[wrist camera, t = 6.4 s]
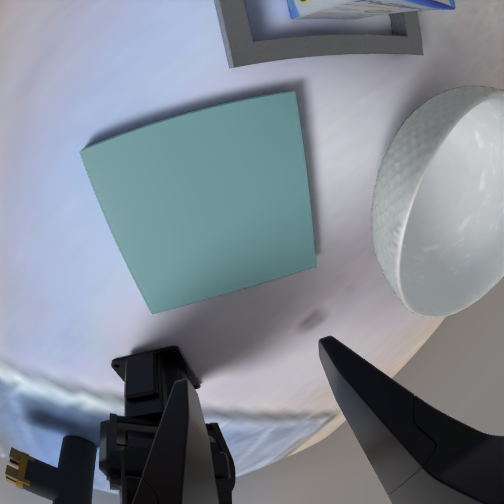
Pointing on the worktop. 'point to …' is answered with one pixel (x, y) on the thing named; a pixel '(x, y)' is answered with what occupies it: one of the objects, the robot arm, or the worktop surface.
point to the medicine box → (360, 8)
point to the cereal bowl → (443, 202)
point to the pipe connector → (57, 473)
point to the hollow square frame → (310, 39)
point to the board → (208, 199)
